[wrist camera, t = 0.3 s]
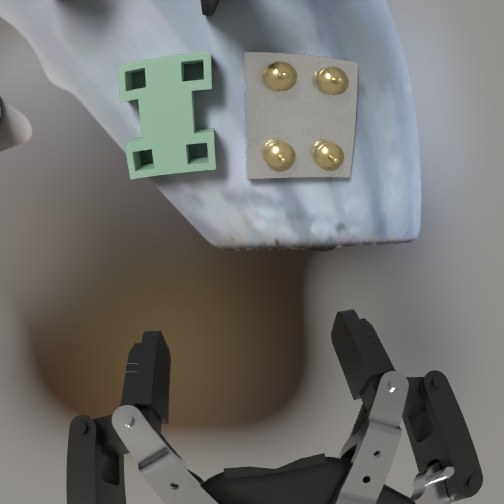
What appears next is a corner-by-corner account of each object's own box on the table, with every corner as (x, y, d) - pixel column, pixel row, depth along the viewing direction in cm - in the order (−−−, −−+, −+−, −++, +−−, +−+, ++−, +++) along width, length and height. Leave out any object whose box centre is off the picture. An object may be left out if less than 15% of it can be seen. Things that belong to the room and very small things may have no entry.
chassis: (246, 175, 34) (250, 188, 30) (243, 53, 25) (248, 47, 21) (345, 173, 36) (361, 185, 32) (352, 63, 27) (371, 61, 23)
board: (136, 171, 32) (130, 179, 29) (125, 68, 24) (117, 66, 22) (215, 162, 33) (215, 169, 30) (211, 55, 25) (210, 51, 23)
